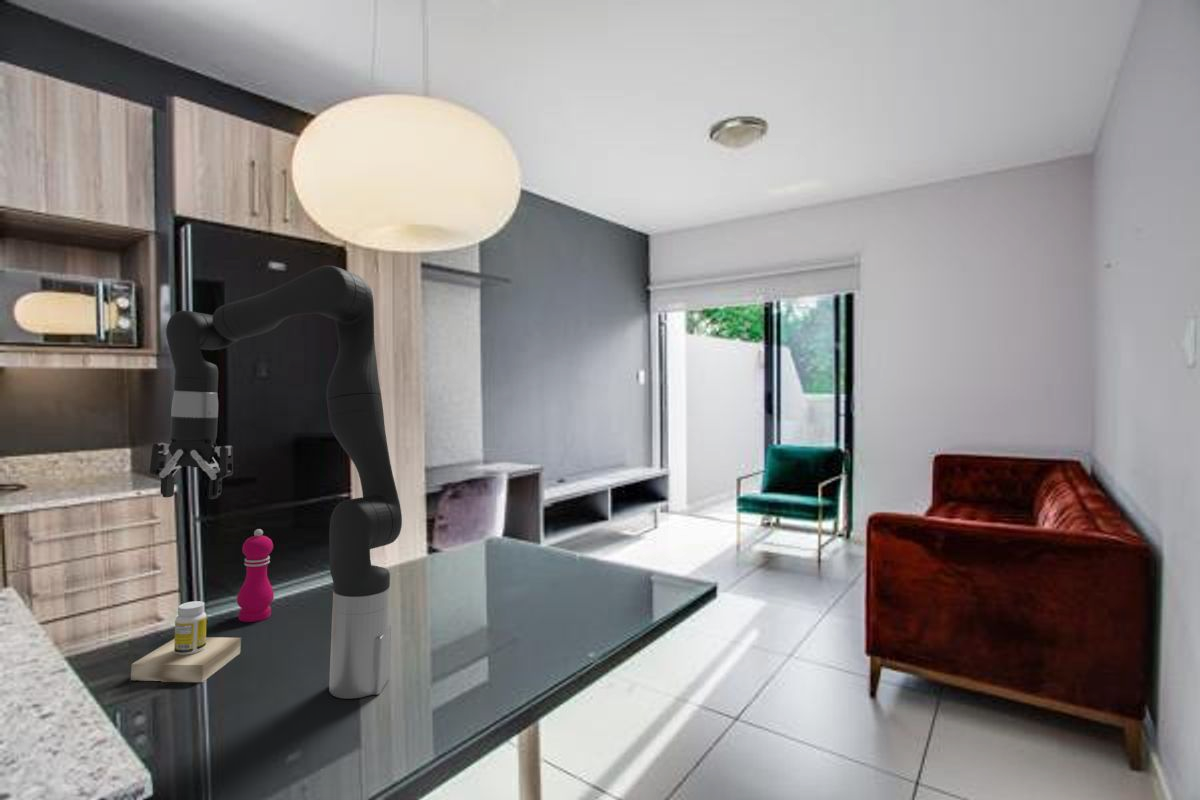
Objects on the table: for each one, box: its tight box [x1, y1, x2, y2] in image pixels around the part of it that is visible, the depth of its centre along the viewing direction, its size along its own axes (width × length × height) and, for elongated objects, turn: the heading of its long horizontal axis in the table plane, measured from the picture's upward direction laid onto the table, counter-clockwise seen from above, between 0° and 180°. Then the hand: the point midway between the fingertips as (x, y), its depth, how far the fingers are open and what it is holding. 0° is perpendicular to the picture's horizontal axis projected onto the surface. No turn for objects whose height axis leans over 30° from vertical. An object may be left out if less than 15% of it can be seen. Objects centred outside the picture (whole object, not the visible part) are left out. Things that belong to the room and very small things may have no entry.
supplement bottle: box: [174, 600, 208, 655], centre depth 108 cm, size 5×5×8 cm
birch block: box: [130, 636, 242, 683], centre depth 108 cm, size 12×12×3 cm
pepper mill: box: [236, 528, 275, 623], centre depth 133 cm, size 7×7×20 cm
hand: (190, 497), depth 115 cm, fingers open, 8 cm apart
